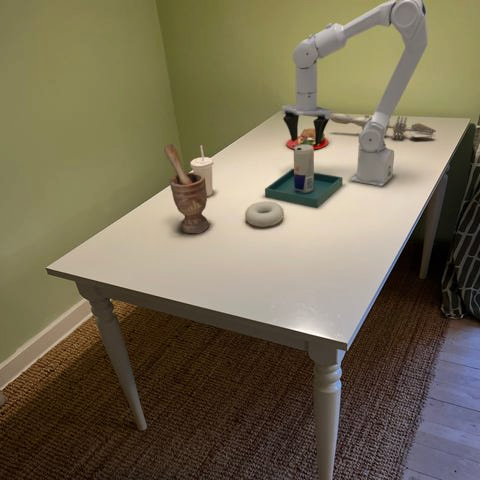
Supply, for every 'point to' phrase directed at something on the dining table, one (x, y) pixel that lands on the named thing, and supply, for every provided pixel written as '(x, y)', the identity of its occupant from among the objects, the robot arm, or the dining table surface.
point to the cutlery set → (388, 126)
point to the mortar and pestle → (188, 194)
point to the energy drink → (303, 168)
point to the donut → (264, 214)
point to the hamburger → (307, 139)
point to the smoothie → (204, 170)
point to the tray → (315, 198)
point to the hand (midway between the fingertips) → (306, 141)
